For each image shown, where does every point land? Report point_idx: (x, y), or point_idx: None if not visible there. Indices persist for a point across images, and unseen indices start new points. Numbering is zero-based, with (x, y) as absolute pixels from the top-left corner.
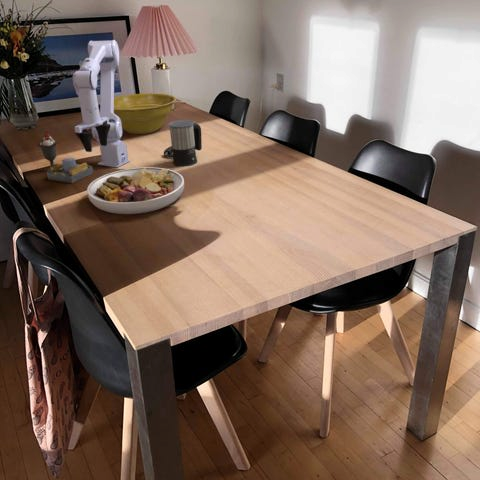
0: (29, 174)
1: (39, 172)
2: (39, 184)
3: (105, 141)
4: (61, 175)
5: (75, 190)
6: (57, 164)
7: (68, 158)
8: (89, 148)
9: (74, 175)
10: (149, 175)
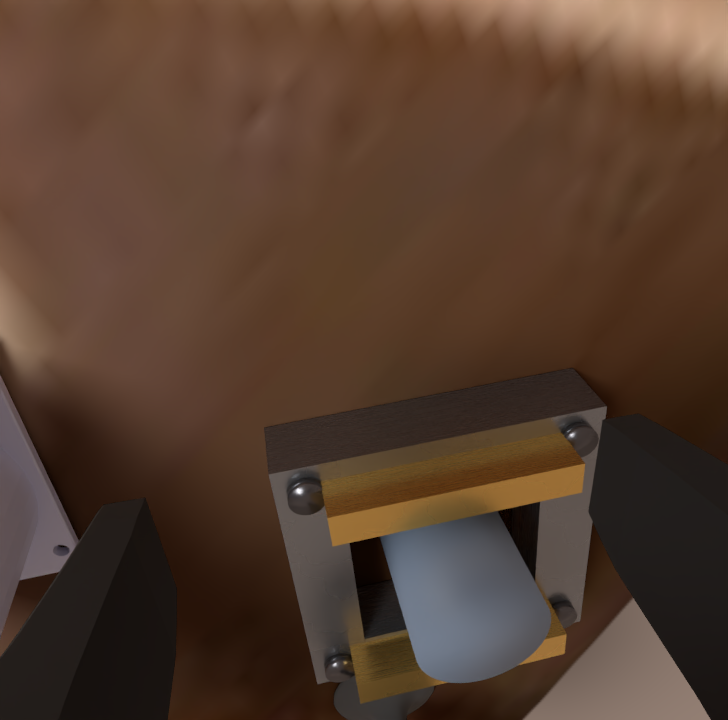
0: (518, 711)
1: (465, 703)
2: None
3: (117, 574)
4: None
5: (722, 192)
6: None
7: (444, 670)
8: (701, 463)
9: (554, 412)
10: None
